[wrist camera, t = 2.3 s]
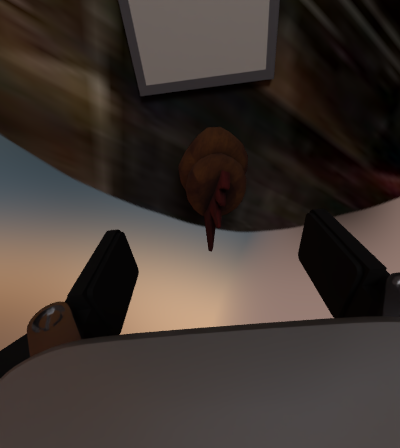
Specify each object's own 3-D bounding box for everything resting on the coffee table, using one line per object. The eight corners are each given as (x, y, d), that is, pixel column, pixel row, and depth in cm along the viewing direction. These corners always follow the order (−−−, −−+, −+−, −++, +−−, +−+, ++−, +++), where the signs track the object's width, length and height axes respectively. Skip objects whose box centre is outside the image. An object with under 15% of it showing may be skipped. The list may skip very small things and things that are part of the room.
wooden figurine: (210, 188, 27) (219, 279, 14) (174, 160, 25) (147, 238, 12) (249, 146, 24) (301, 215, 11) (211, 110, 22) (225, 146, 9)
